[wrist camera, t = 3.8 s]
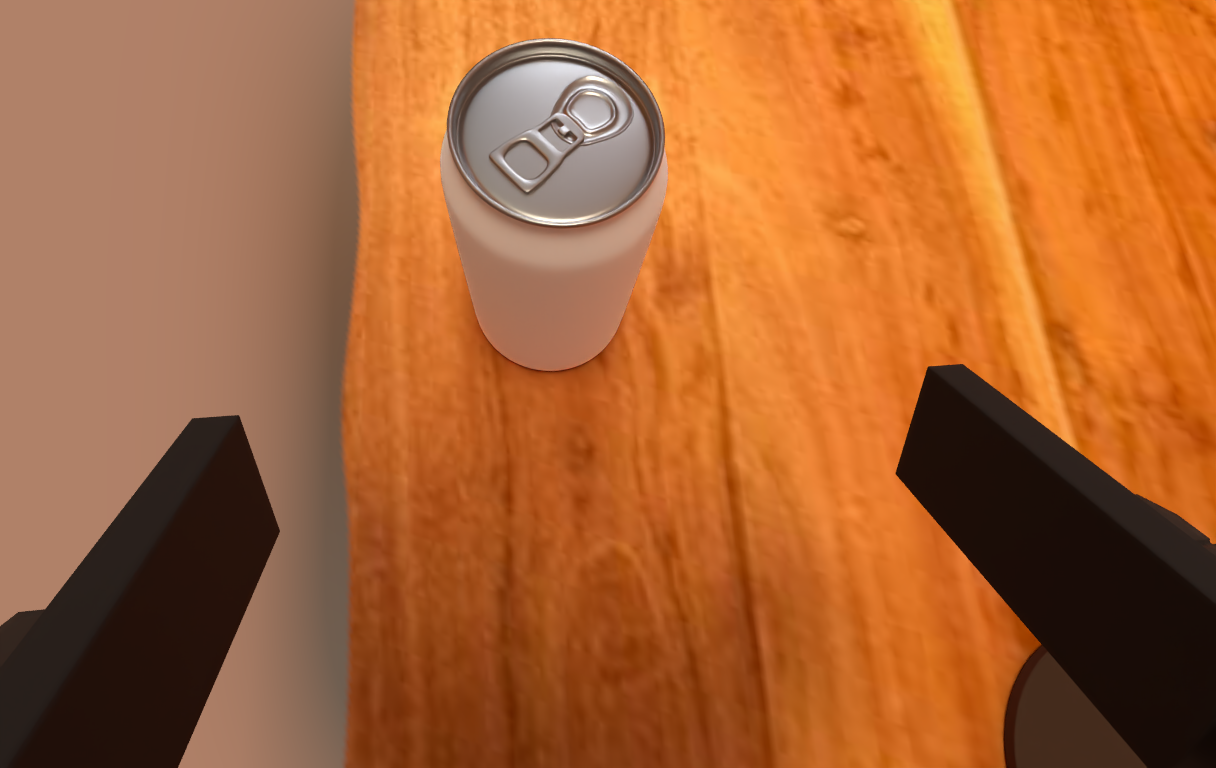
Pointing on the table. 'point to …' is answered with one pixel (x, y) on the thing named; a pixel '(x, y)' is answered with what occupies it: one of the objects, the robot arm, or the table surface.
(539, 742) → the table surface
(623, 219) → the can
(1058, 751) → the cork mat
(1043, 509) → the robot arm
